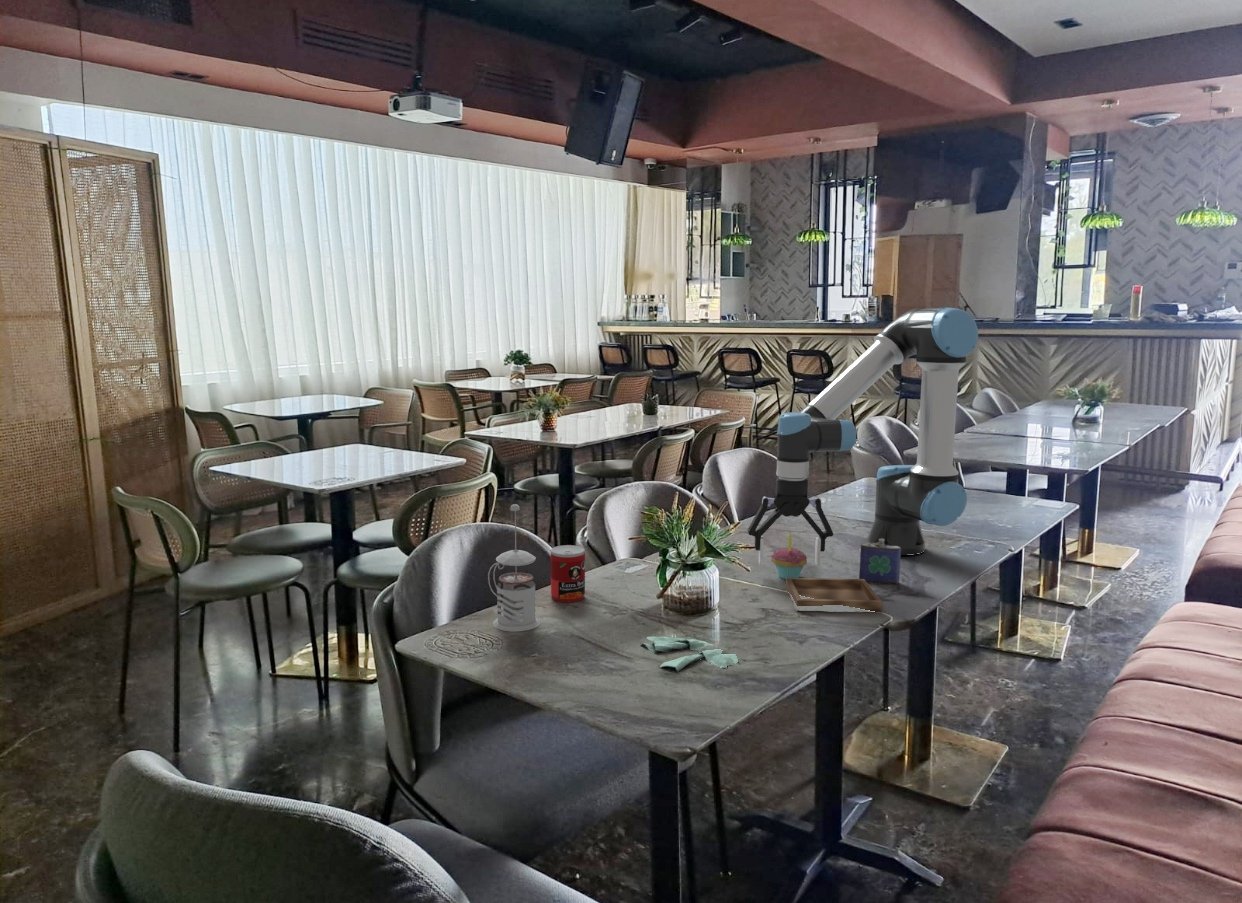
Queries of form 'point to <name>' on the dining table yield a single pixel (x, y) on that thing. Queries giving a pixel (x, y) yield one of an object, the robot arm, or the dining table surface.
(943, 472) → the robot arm
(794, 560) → the cupcake
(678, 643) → the cloth
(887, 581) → the flask
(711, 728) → the dining table surface
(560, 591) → the canned food
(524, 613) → the french press
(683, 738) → the dining table surface
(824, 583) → the tray
